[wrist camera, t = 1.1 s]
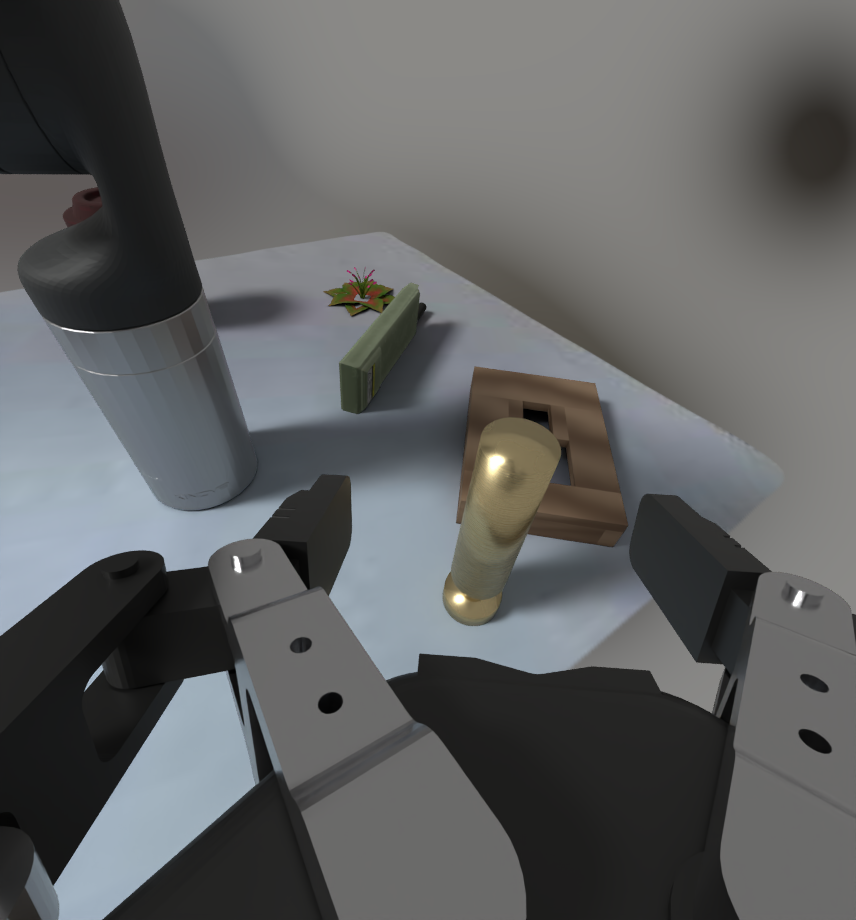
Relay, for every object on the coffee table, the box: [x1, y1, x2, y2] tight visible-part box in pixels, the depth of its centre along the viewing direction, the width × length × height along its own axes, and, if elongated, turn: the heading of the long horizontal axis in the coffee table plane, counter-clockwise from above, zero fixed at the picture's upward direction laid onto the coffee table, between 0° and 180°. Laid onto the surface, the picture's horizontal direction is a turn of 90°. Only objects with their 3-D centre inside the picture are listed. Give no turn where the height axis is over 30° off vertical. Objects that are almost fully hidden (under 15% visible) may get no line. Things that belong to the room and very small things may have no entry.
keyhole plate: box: [456, 367, 628, 547], centre depth 44 cm, size 20×14×3 cm
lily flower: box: [323, 267, 395, 316], centre depth 65 cm, size 12×12×5 cm
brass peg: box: [443, 417, 561, 626], centre depth 27 cm, size 4×4×17 cm
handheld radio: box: [339, 283, 426, 414], centre depth 54 cm, size 7×3×25 cm
